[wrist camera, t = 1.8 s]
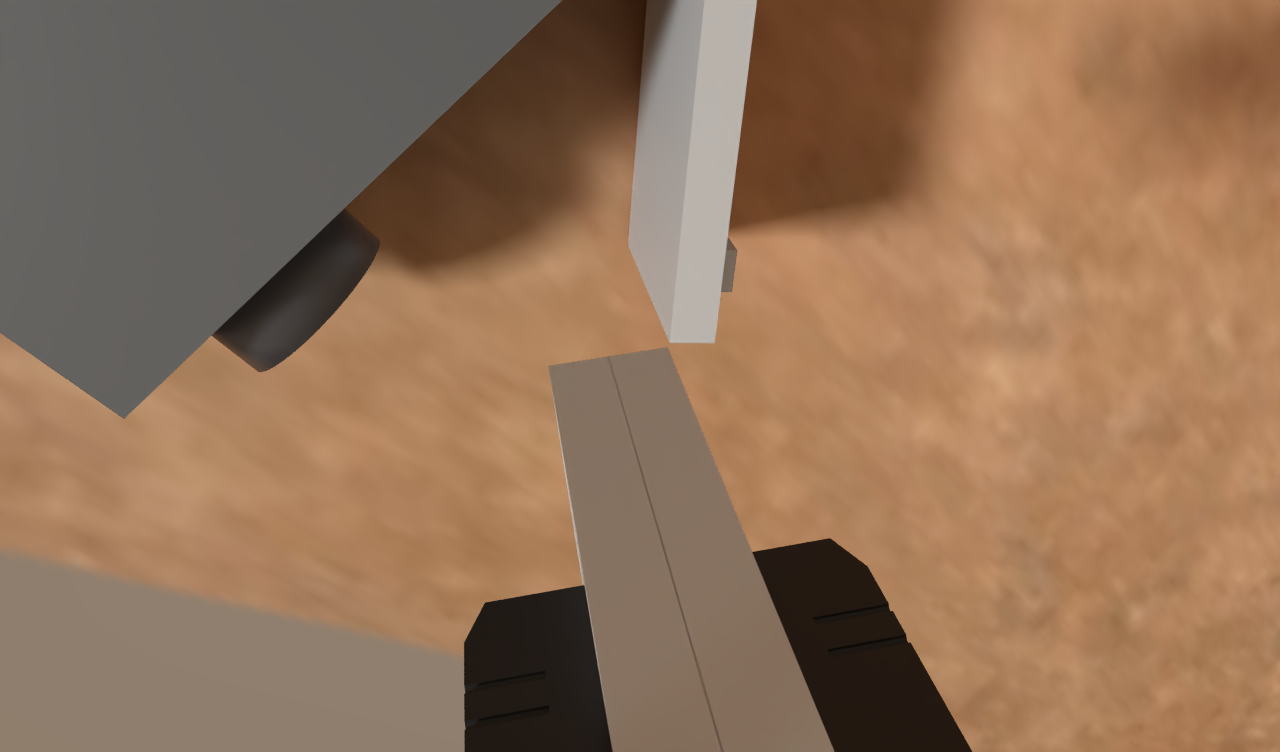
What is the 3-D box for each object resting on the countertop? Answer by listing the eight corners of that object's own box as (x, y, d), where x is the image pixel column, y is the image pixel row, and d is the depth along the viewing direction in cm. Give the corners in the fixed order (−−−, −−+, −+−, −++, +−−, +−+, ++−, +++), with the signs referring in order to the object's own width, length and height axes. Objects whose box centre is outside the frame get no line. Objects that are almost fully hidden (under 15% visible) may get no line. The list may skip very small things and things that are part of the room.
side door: (627, 242, 27) (671, 346, 22) (657, -154, 23) (722, -151, 17) (684, 243, 28) (743, 347, 22) (725, -148, 23) (811, -143, 18)
